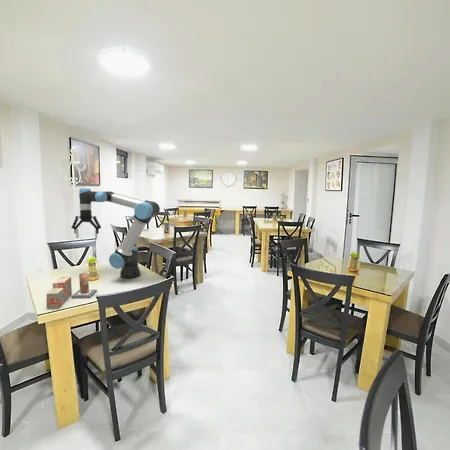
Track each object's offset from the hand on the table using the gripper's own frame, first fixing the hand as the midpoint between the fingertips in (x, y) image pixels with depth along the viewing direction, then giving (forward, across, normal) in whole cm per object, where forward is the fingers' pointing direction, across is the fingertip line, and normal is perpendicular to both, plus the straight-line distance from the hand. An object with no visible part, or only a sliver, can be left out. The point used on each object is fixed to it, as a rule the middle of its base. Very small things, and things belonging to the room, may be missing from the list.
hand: (86, 237), depth 205 cm
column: (+29, -11, +35) cm, 47 cm away
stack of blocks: (+31, -1, +45) cm, 55 cm away
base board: (+31, -11, +35) cm, 48 cm away
